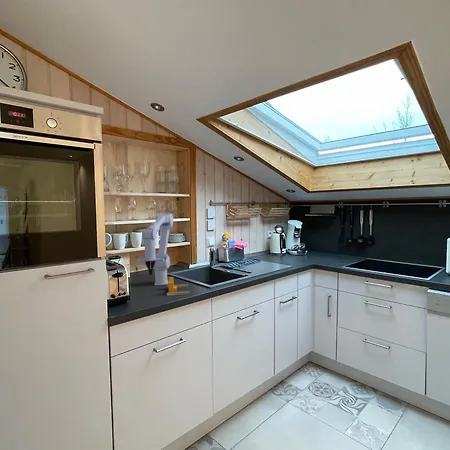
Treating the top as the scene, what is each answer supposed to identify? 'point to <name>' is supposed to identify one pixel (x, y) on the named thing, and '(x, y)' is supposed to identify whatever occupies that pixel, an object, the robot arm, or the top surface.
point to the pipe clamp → (172, 285)
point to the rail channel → (178, 292)
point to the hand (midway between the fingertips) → (150, 274)
